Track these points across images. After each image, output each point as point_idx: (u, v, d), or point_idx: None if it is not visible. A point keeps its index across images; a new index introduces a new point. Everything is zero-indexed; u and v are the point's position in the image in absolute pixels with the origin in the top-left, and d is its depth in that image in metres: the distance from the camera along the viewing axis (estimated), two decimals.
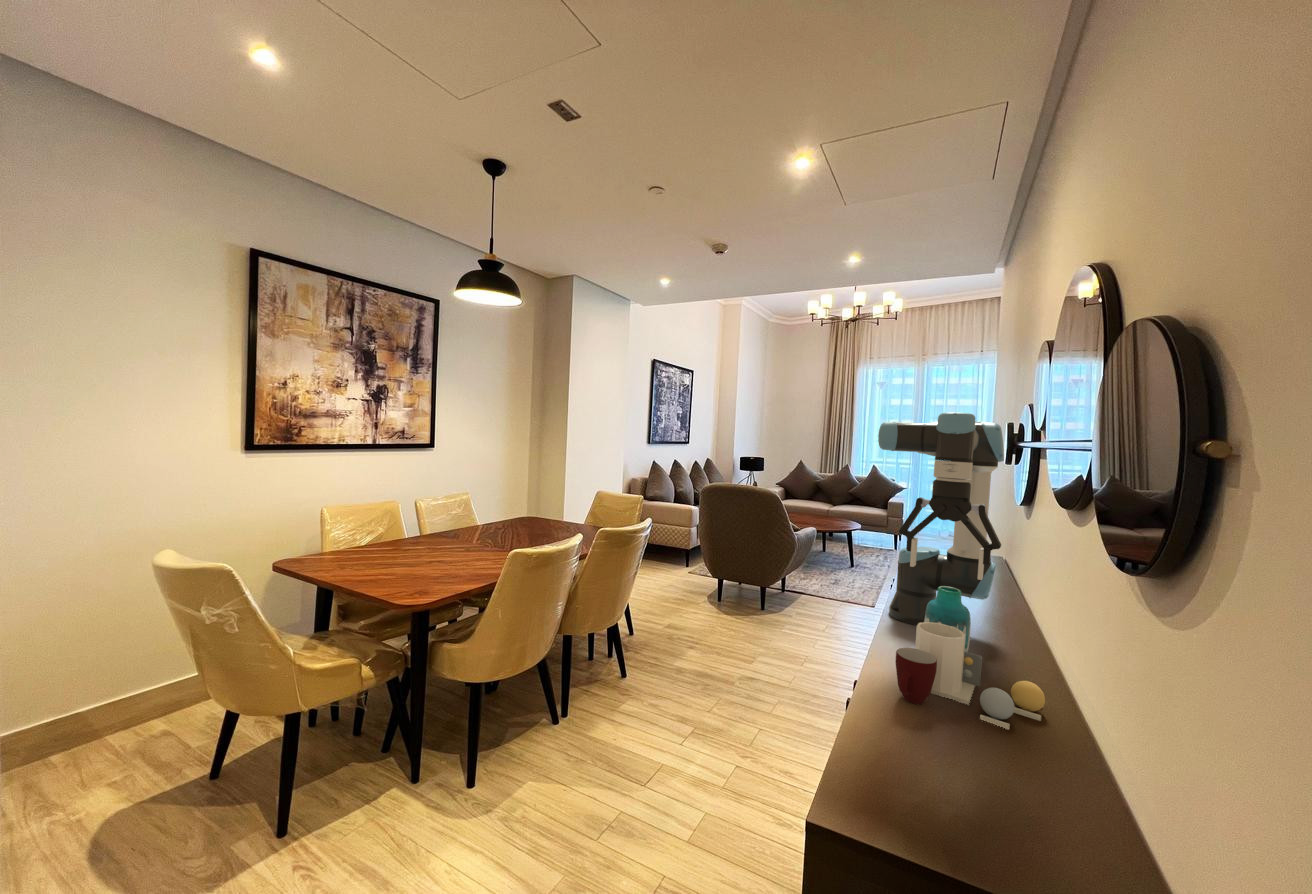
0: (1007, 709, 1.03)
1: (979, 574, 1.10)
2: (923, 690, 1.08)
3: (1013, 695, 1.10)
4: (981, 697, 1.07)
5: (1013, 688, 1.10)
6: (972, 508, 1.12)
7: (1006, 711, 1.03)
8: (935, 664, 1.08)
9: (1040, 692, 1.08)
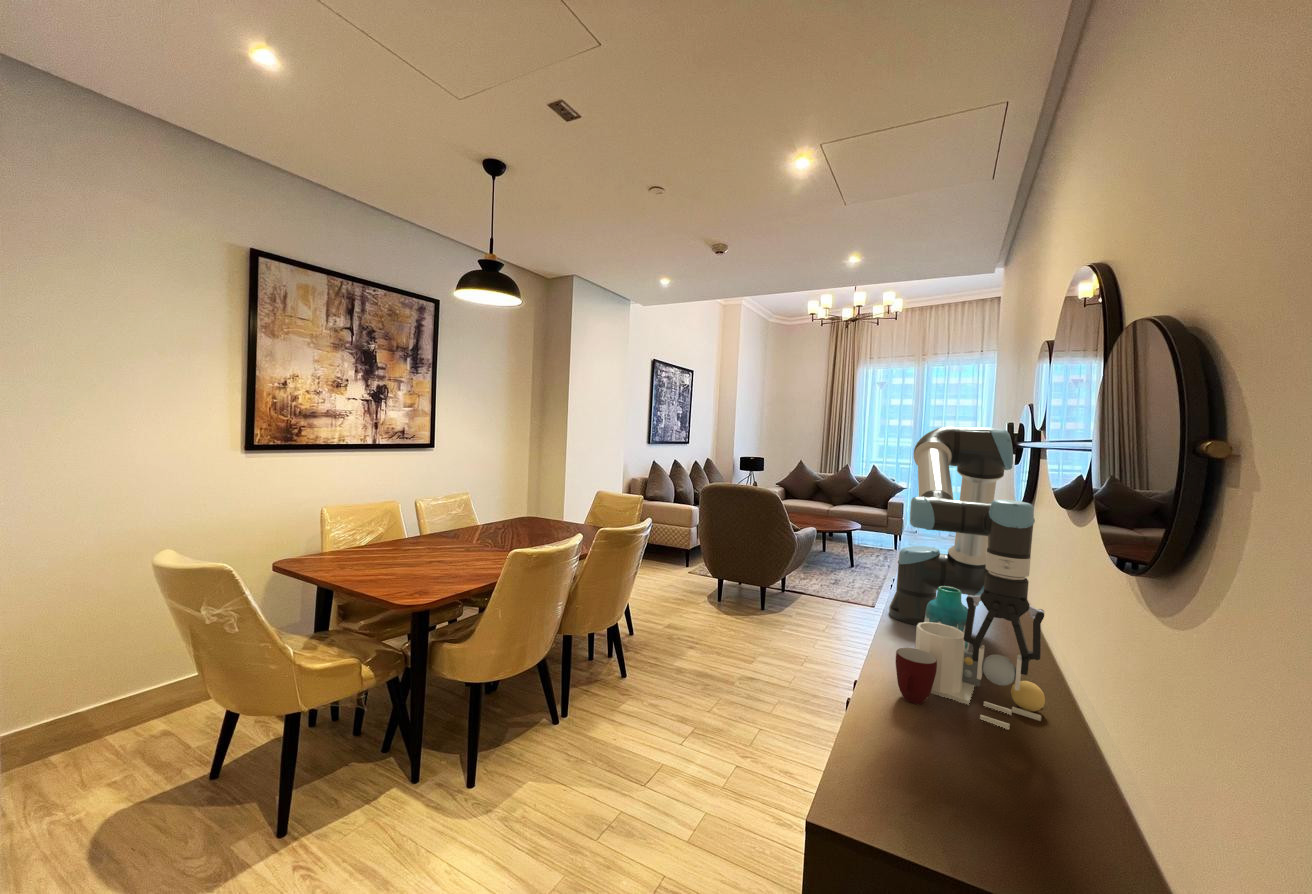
0: (1009, 675, 1.03)
1: (1016, 684, 1.03)
2: (923, 690, 1.08)
3: (1013, 695, 1.10)
4: (983, 664, 1.07)
5: (1013, 688, 1.10)
6: (1029, 610, 1.02)
7: (1008, 677, 1.03)
8: (935, 664, 1.08)
9: (1040, 692, 1.08)
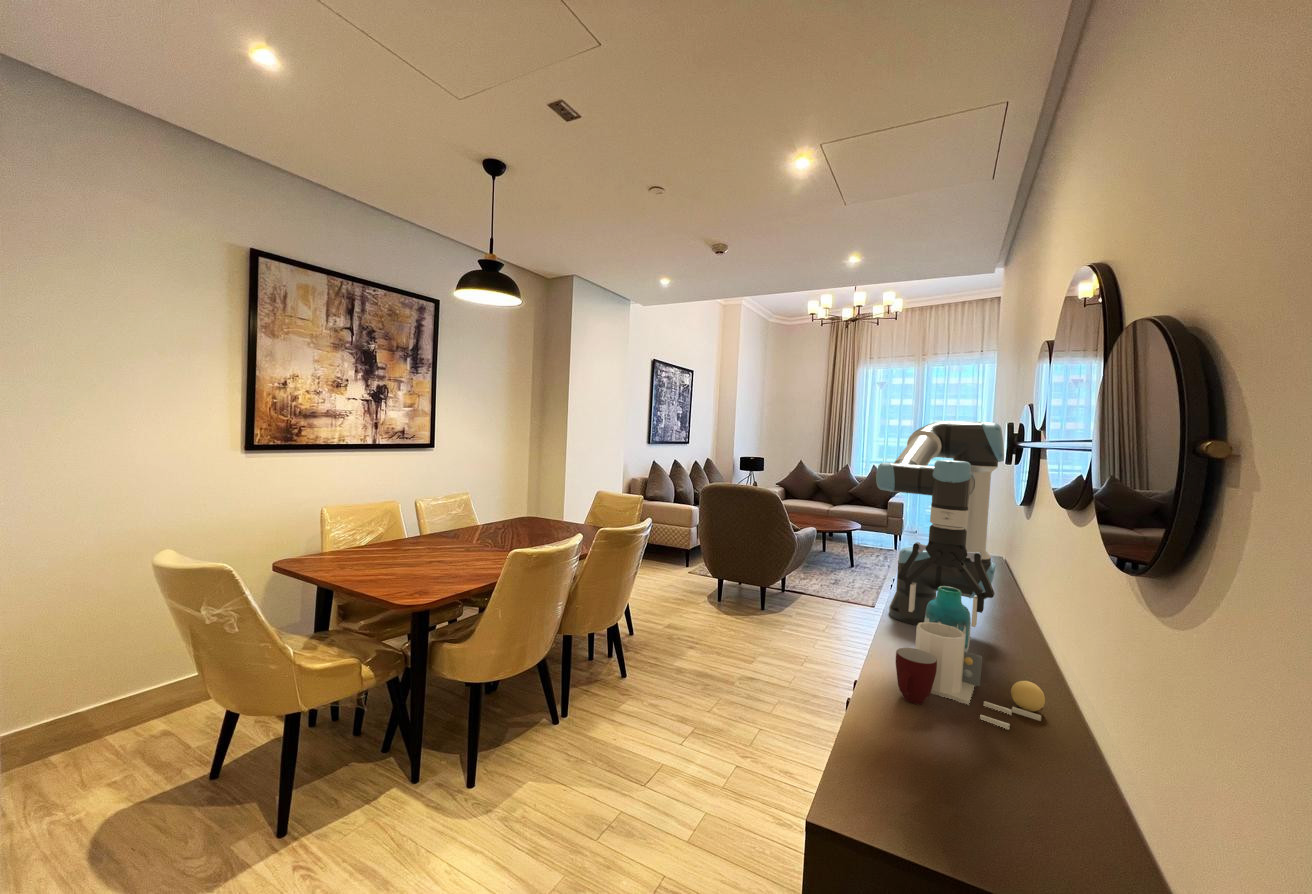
0: None
1: (973, 621, 1.12)
2: (923, 690, 1.08)
3: (1013, 695, 1.10)
4: None
5: (1013, 688, 1.10)
6: (968, 555, 1.14)
7: None
8: (935, 664, 1.08)
9: (1040, 692, 1.08)
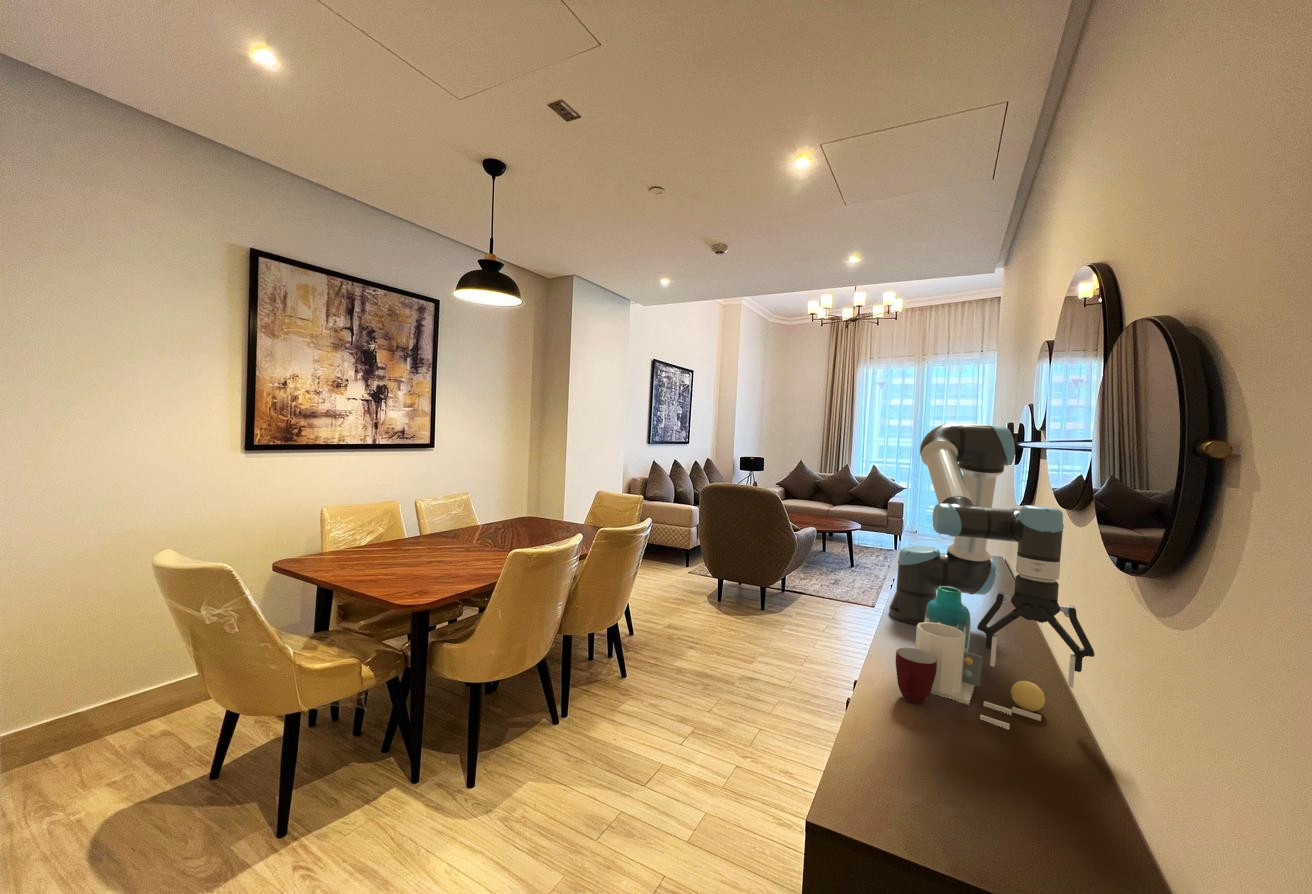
0: None
1: (1070, 682, 1.04)
2: (923, 690, 1.08)
3: (1013, 695, 1.10)
4: None
5: (1013, 688, 1.10)
6: (1061, 610, 1.06)
7: None
8: (935, 664, 1.08)
9: (1040, 692, 1.08)
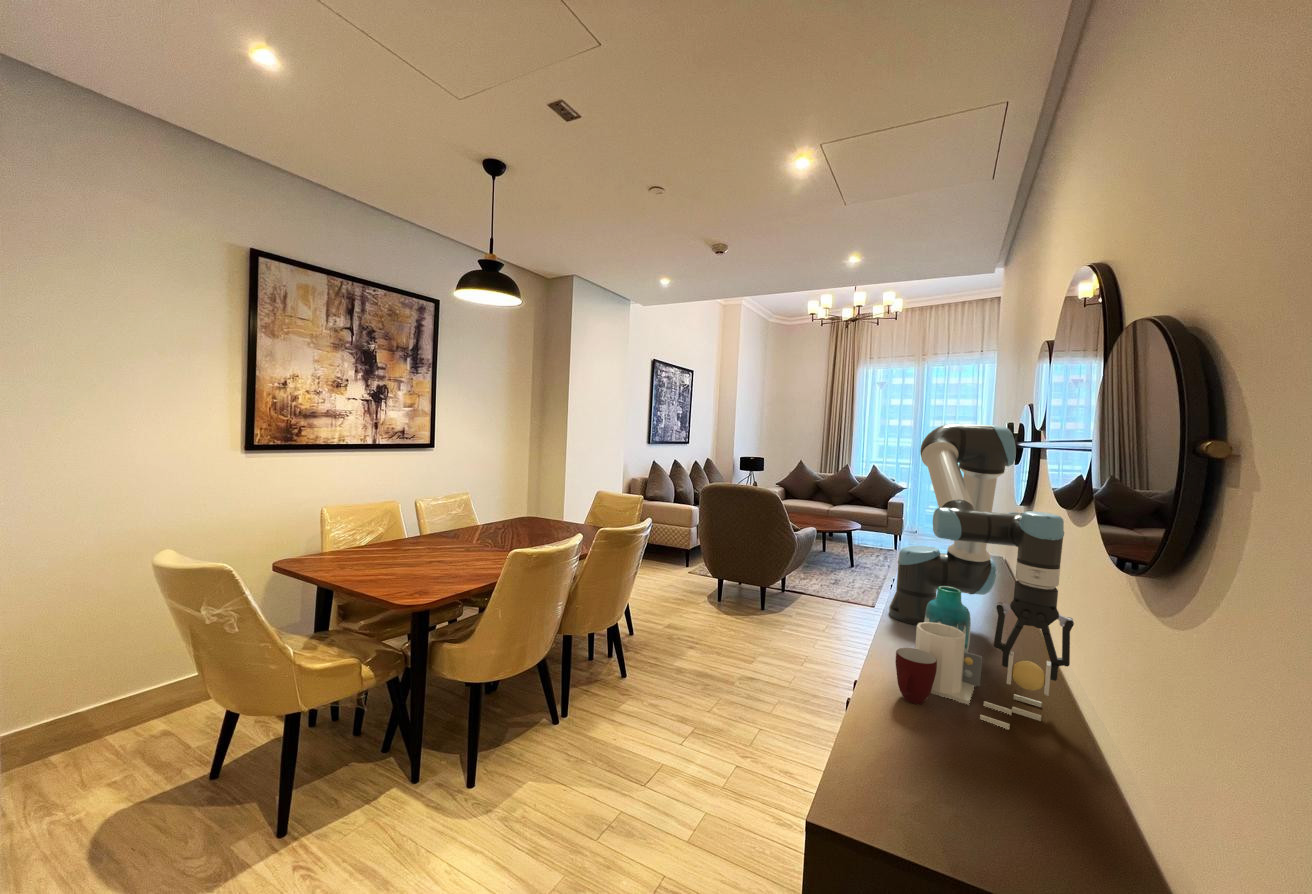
0: None
1: (1046, 690, 1.07)
2: (923, 690, 1.08)
3: (1014, 675, 1.10)
4: None
5: (1014, 668, 1.11)
6: (1058, 618, 1.06)
7: None
8: (935, 664, 1.08)
9: (1041, 672, 1.08)
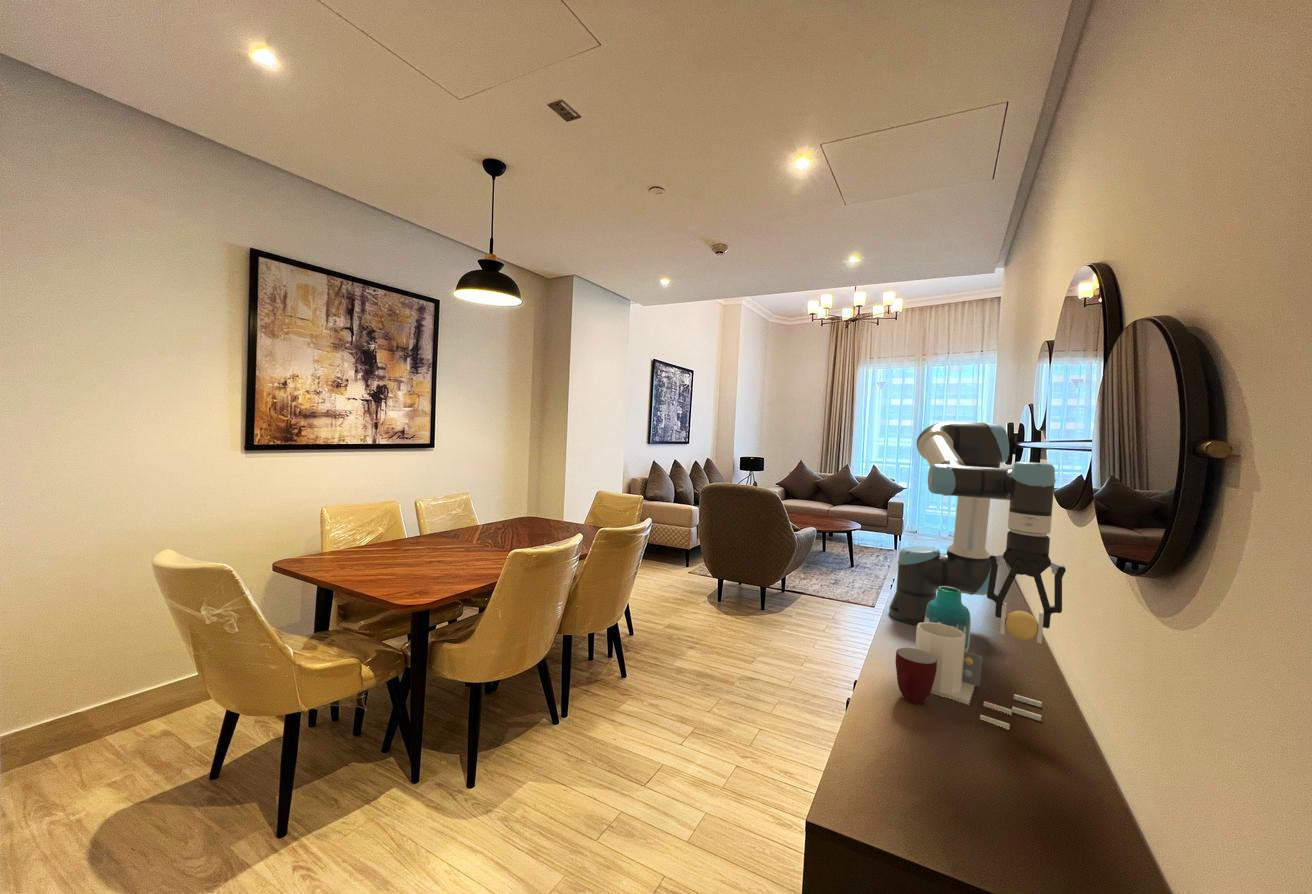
0: None
1: (1039, 638, 1.07)
2: (923, 690, 1.08)
3: (1007, 624, 1.11)
4: None
5: (1007, 618, 1.11)
6: (1051, 566, 1.07)
7: None
8: (935, 664, 1.08)
9: (1034, 620, 1.08)
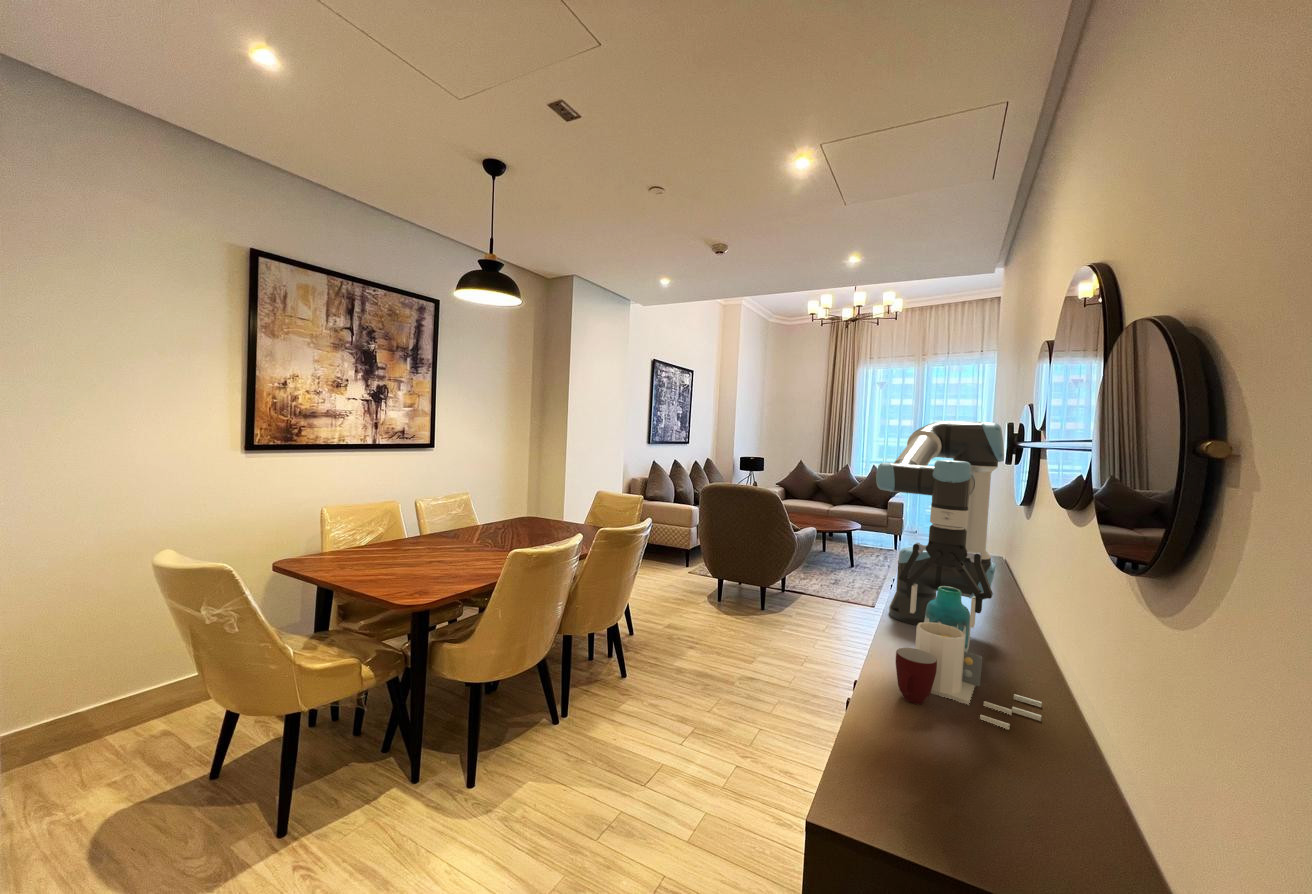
0: None
1: (971, 622, 1.13)
2: (923, 690, 1.08)
3: None
4: None
5: None
6: (968, 556, 1.14)
7: None
8: (935, 664, 1.08)
9: None
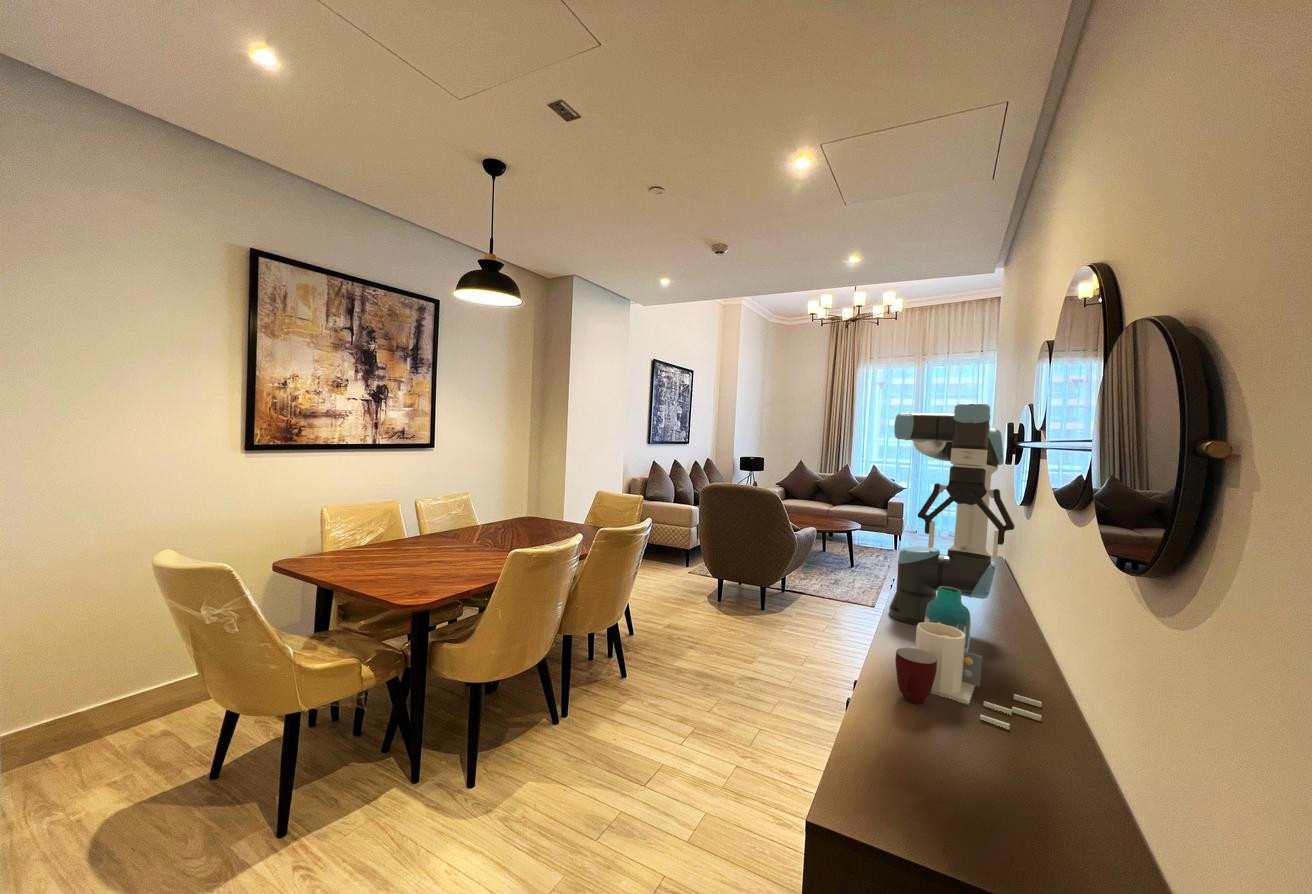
0: None
1: (994, 553, 1.18)
2: (923, 690, 1.08)
3: None
4: None
5: None
6: (987, 492, 1.20)
7: None
8: (935, 664, 1.08)
9: None
